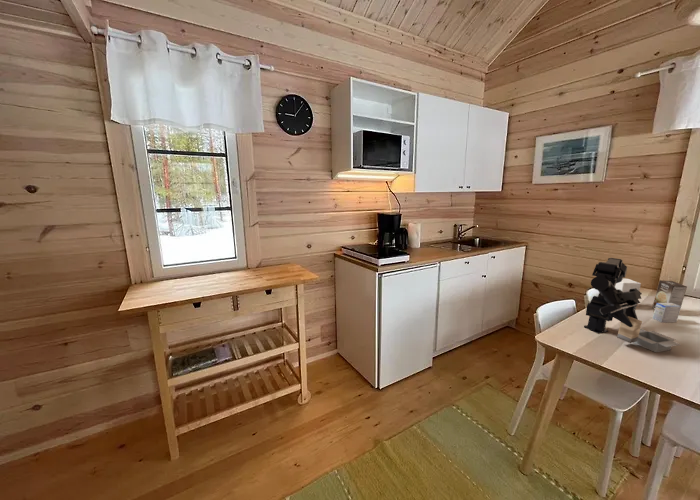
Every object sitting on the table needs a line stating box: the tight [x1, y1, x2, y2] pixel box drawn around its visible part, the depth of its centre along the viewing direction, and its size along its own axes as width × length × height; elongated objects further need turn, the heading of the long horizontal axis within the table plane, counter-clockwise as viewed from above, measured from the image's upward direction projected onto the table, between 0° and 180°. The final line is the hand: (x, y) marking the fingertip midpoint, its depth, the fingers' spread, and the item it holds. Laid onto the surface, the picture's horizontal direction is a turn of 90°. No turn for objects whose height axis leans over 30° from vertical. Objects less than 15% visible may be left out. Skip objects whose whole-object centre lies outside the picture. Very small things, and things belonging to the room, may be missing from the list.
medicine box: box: [652, 303, 682, 323], centre depth 144 cm, size 8×4×9 cm, turn 92°
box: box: [616, 316, 643, 344], centre depth 119 cm, size 4×4×9 cm
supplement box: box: [615, 277, 642, 306], centre depth 161 cm, size 9×9×15 cm
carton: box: [633, 328, 681, 353], centre depth 120 cm, size 14×14×4 cm
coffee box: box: [652, 279, 688, 310], centre depth 154 cm, size 9×6×16 cm
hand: (634, 325), depth 117 cm, fingers closed on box, 5 cm apart
